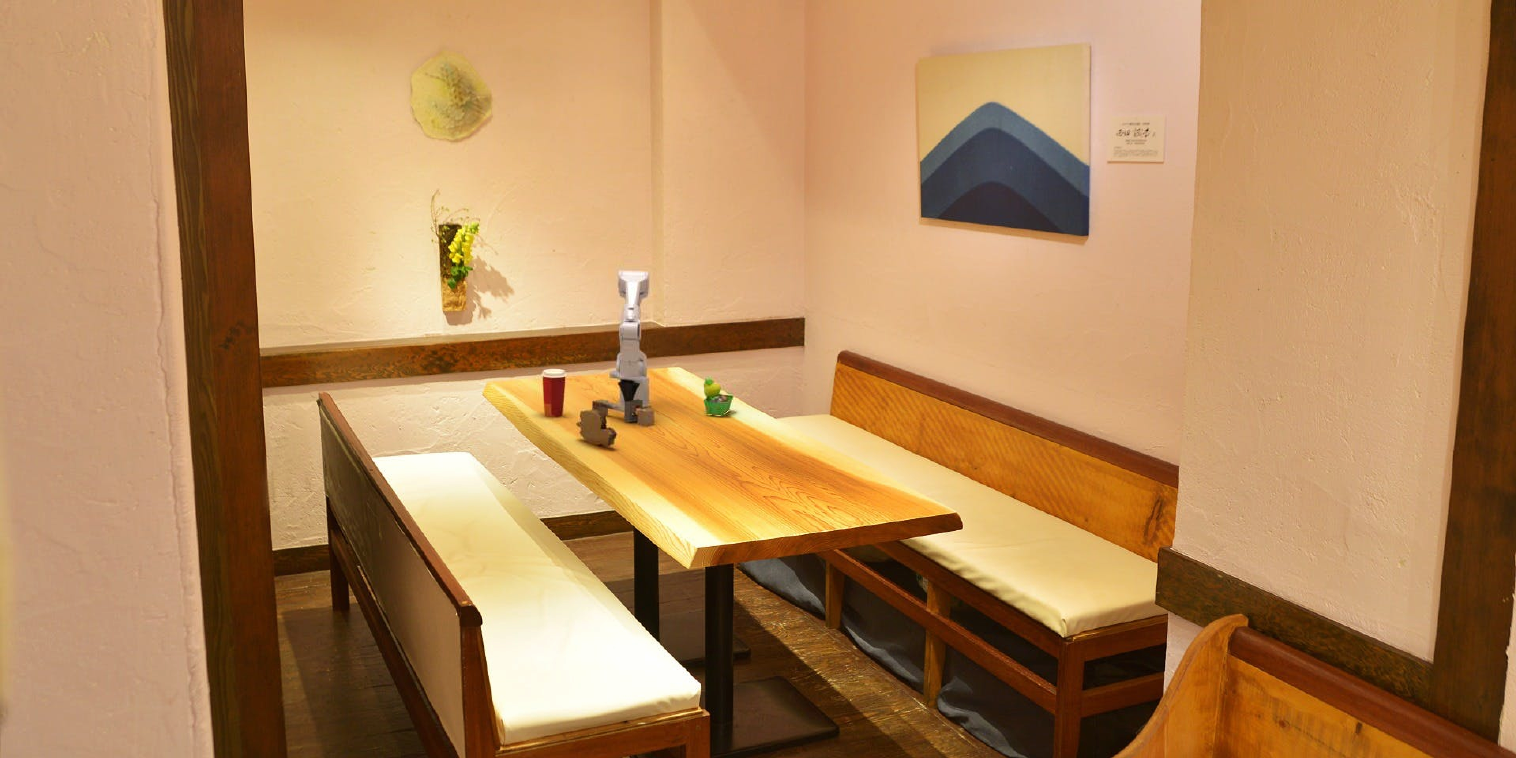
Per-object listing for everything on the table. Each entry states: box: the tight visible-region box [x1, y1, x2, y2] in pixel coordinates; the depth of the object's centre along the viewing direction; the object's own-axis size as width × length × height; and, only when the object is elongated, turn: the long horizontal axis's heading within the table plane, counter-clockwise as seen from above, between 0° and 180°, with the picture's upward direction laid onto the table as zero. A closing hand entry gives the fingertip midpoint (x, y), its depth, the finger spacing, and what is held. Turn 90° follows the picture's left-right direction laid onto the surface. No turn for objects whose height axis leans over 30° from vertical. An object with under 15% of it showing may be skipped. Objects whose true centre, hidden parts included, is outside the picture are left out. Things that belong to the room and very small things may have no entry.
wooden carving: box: [575, 409, 618, 447], centre depth 368 cm, size 16×5×10 cm, turn 48°
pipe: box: [591, 399, 655, 427], centre depth 399 cm, size 22×4×5 cm, turn 54°
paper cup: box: [540, 368, 567, 418], centre depth 401 cm, size 8×8×14 cm
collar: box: [623, 399, 643, 423], centre depth 397 cm, size 2×6×6 cm, turn 144°
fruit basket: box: [703, 377, 734, 417], centre depth 412 cm, size 11×9×11 cm
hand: (628, 404), depth 398 cm, fingers closed
